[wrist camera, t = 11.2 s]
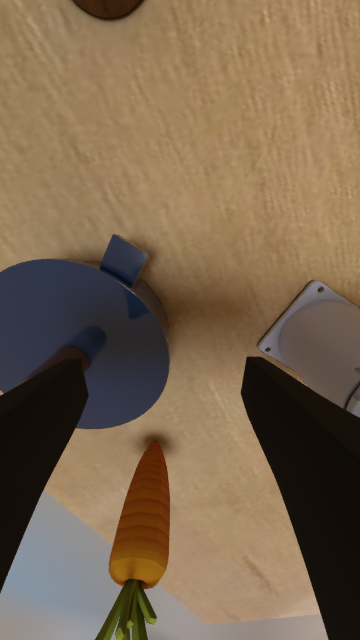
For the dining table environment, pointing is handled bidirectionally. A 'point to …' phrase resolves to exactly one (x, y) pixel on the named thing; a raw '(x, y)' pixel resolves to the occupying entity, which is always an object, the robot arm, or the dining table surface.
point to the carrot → (140, 547)
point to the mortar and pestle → (107, 7)
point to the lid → (83, 336)
